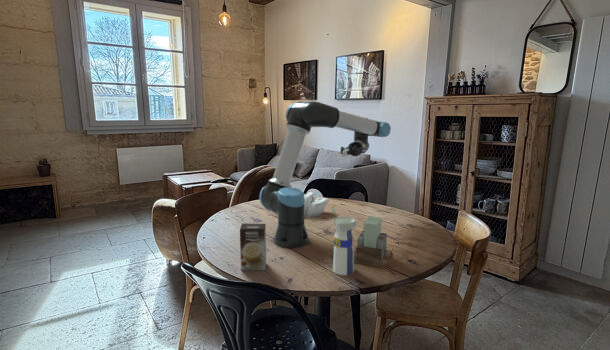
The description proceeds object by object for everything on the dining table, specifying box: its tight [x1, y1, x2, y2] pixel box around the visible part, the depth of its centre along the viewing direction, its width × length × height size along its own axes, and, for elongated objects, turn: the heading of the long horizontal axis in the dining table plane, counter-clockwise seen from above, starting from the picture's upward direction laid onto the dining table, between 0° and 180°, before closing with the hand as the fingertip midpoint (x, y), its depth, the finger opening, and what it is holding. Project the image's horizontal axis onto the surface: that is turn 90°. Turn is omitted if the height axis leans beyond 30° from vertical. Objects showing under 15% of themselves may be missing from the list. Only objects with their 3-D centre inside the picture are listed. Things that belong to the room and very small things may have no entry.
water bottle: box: [331, 204, 358, 276], centre depth 120 cm, size 8×9×25 cm
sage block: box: [363, 215, 382, 249], centre depth 132 cm, size 9×5×14 cm, turn 157°
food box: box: [239, 223, 267, 271], centre depth 124 cm, size 9×6×16 cm
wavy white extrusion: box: [304, 191, 330, 218], centre depth 193 cm, size 35×16×11 cm, turn 68°
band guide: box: [354, 230, 392, 269], centre depth 133 cm, size 15×13×9 cm
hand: (343, 153), depth 154 cm, fingers closed
